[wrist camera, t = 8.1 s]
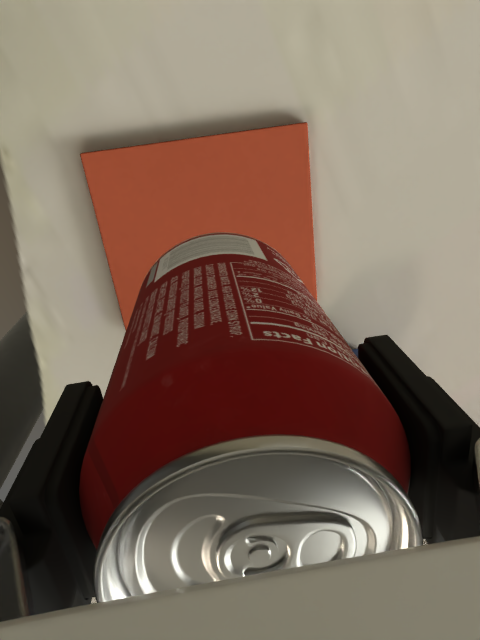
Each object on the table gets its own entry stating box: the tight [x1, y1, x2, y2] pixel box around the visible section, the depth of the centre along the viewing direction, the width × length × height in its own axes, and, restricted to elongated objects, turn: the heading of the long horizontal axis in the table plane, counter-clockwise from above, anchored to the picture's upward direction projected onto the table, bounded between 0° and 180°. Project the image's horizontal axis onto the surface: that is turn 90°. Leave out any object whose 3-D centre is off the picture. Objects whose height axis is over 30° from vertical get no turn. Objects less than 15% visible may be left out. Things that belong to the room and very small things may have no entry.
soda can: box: [79, 232, 423, 603], centre depth 13 cm, size 7×7×12 cm
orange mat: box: [80, 122, 317, 330], centre depth 29 cm, size 14×12×1 cm
